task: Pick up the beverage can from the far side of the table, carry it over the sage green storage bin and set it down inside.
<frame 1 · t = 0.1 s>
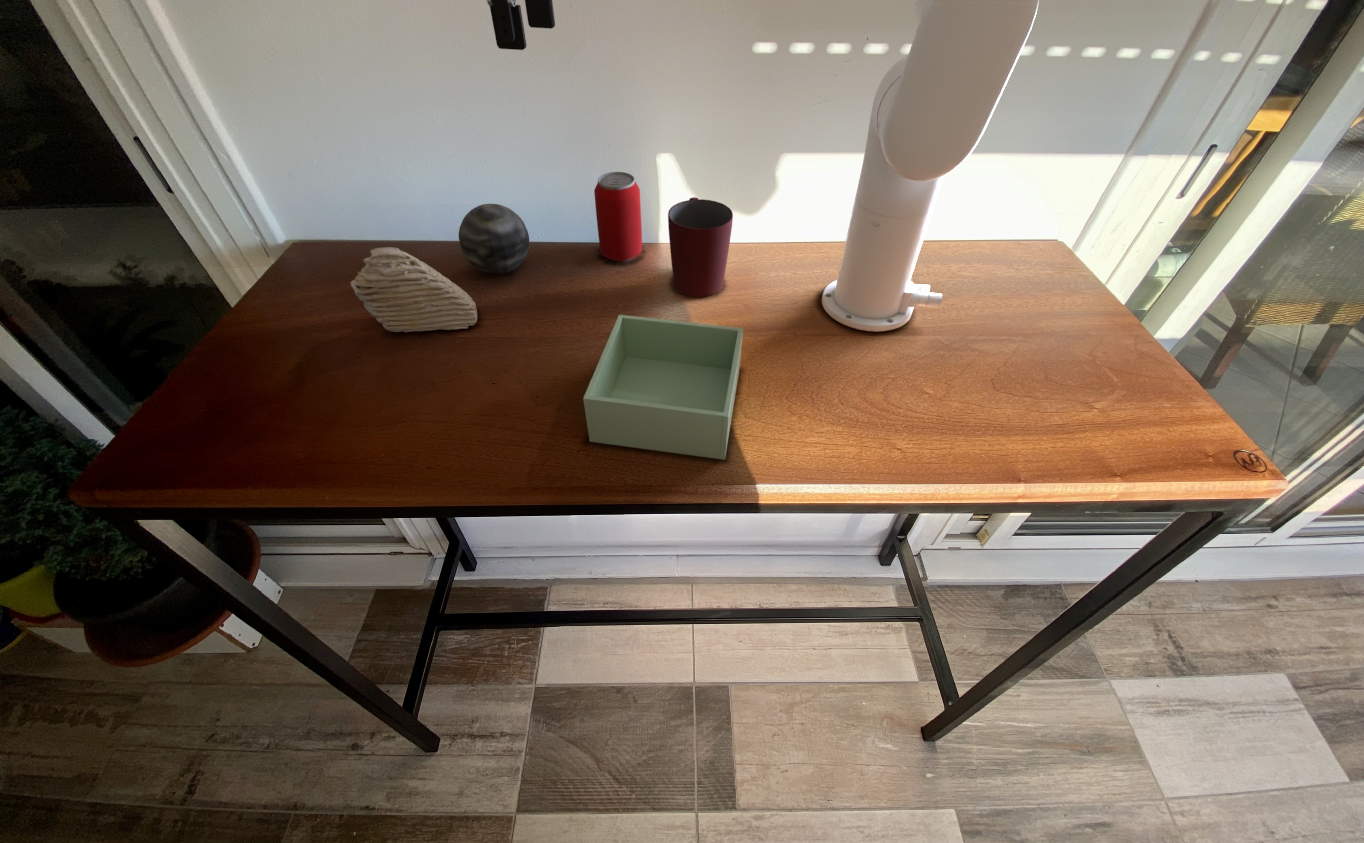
hand: (528, 37, 68), 31 cm above the table, tool pointing down, fingers open, 9 cm apart
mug: (696, 279, 90), on the table
fossil tooth: (425, 323, 82), on the table
decorative stone: (501, 270, 92), on the table
sage green storage bin: (669, 403, 71), on the table
beverage can: (621, 254, 95), on the table
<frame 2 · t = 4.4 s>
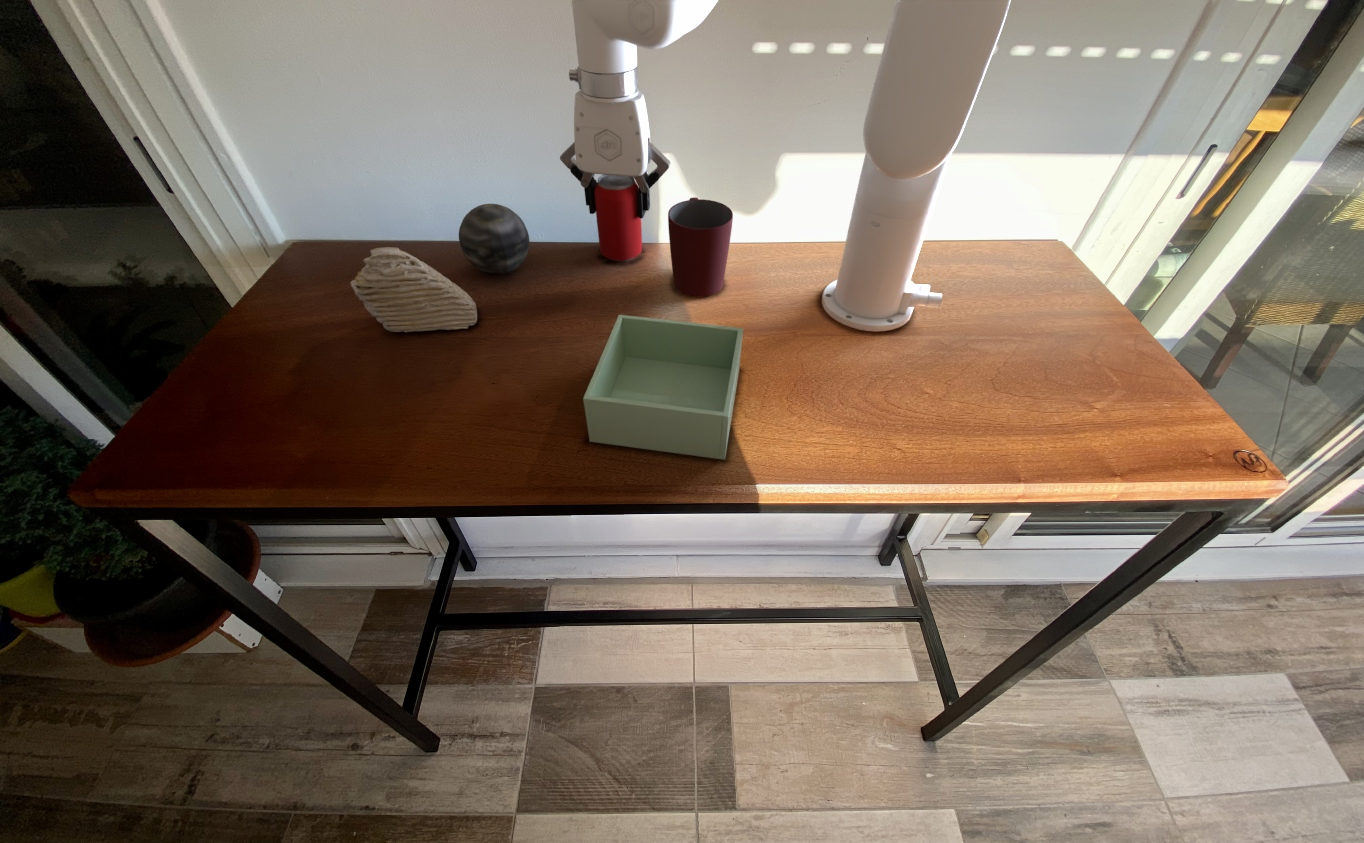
hand: (618, 211, 90), 7 cm above the table, tool pointing down, fingers closed on beverage can, 6 cm apart
beverage can: (621, 254, 95), on the table, touching gripper
everything else where it was.
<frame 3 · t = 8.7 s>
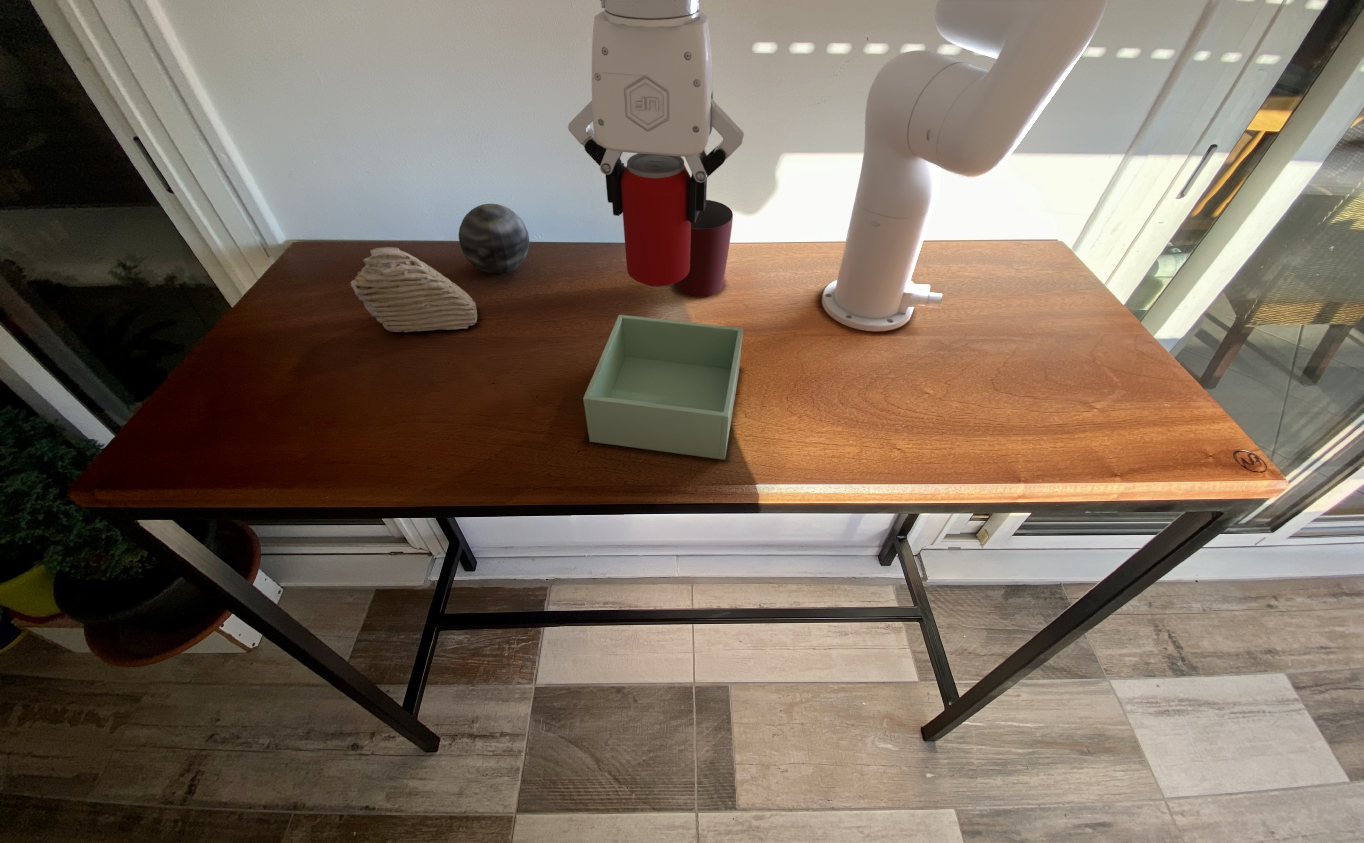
hand: (657, 211, 59), 22 cm above the table, tool pointing down, fingers closed on beverage can, 6 cm apart
beverage can: (658, 276, 64), point 14 cm above the table, touching gripper
everything else where it was.
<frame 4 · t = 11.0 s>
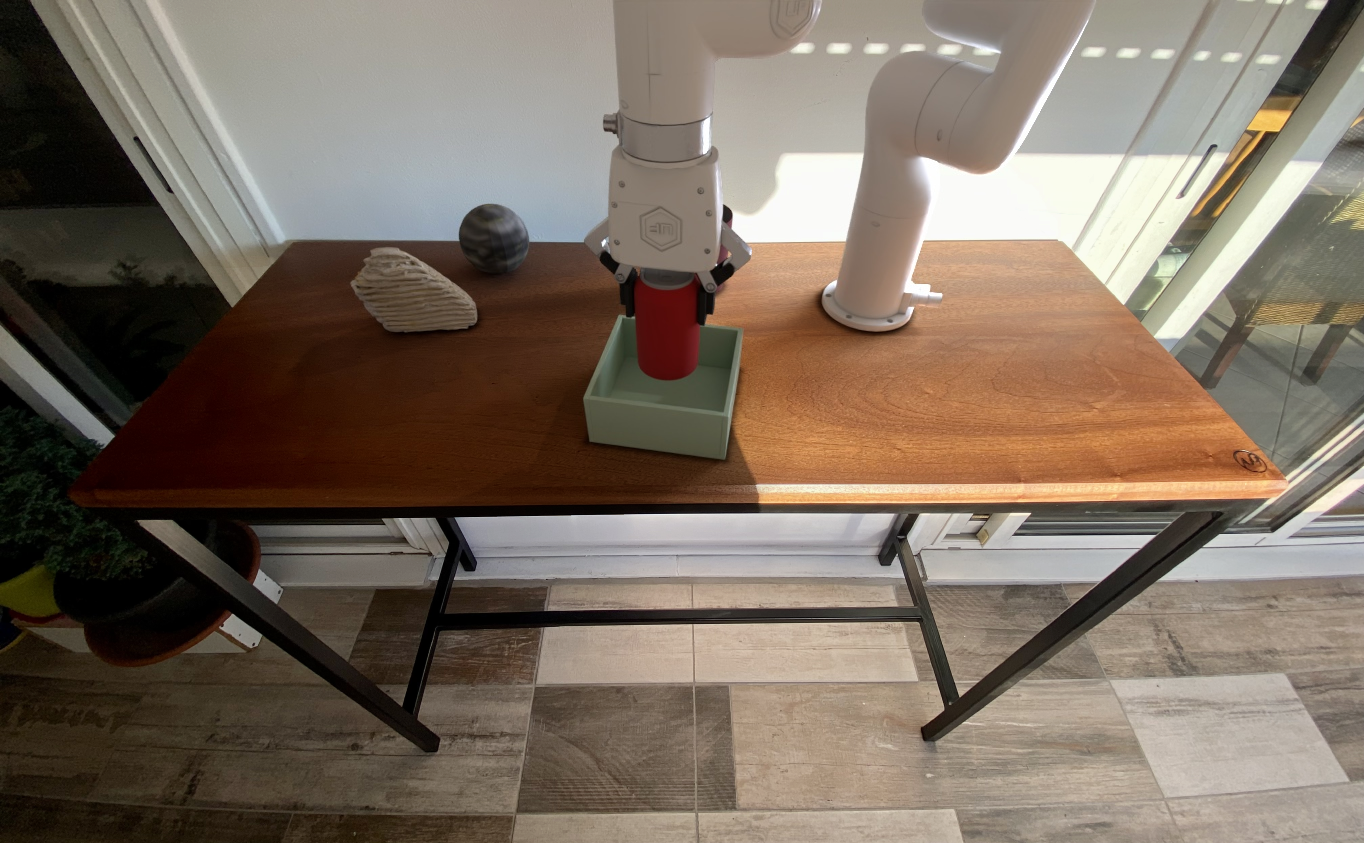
hand: (667, 313, 62), 13 cm above the table, tool pointing down, fingers closed on beverage can, 6 cm apart
beverage can: (668, 367, 67), point 6 cm above the table, touching gripper
everything else where it was.
when the fingers open (8 cm above the table, at t = 12.9 s): beverage can stays where it is, resting on sage green storage bin.
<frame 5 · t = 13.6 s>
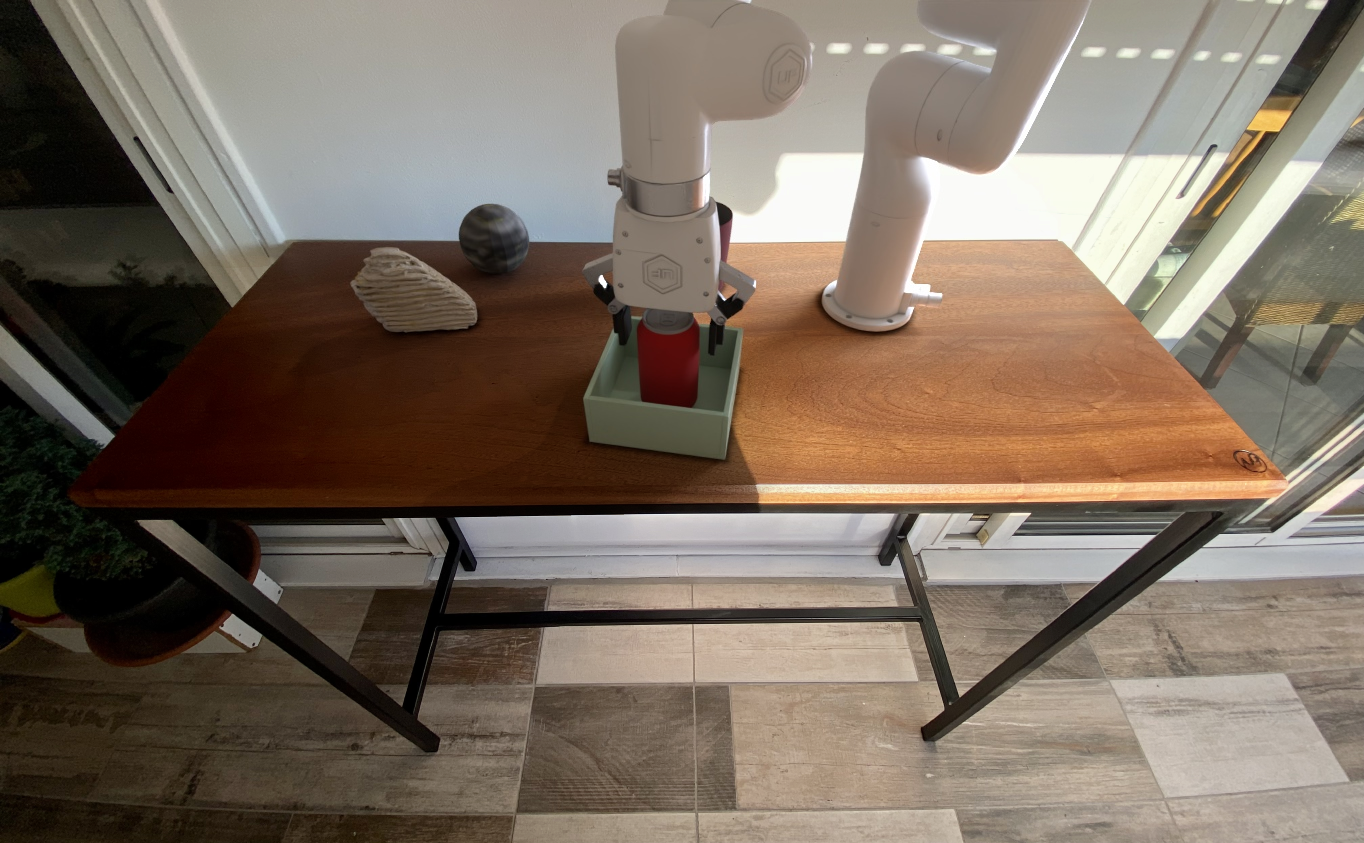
hand: (669, 342, 64), 9 cm above the table, tool pointing down, fingers open, 9 cm apart
beverage can: (669, 401, 70), resting on sage green storage bin
everything else where it was.
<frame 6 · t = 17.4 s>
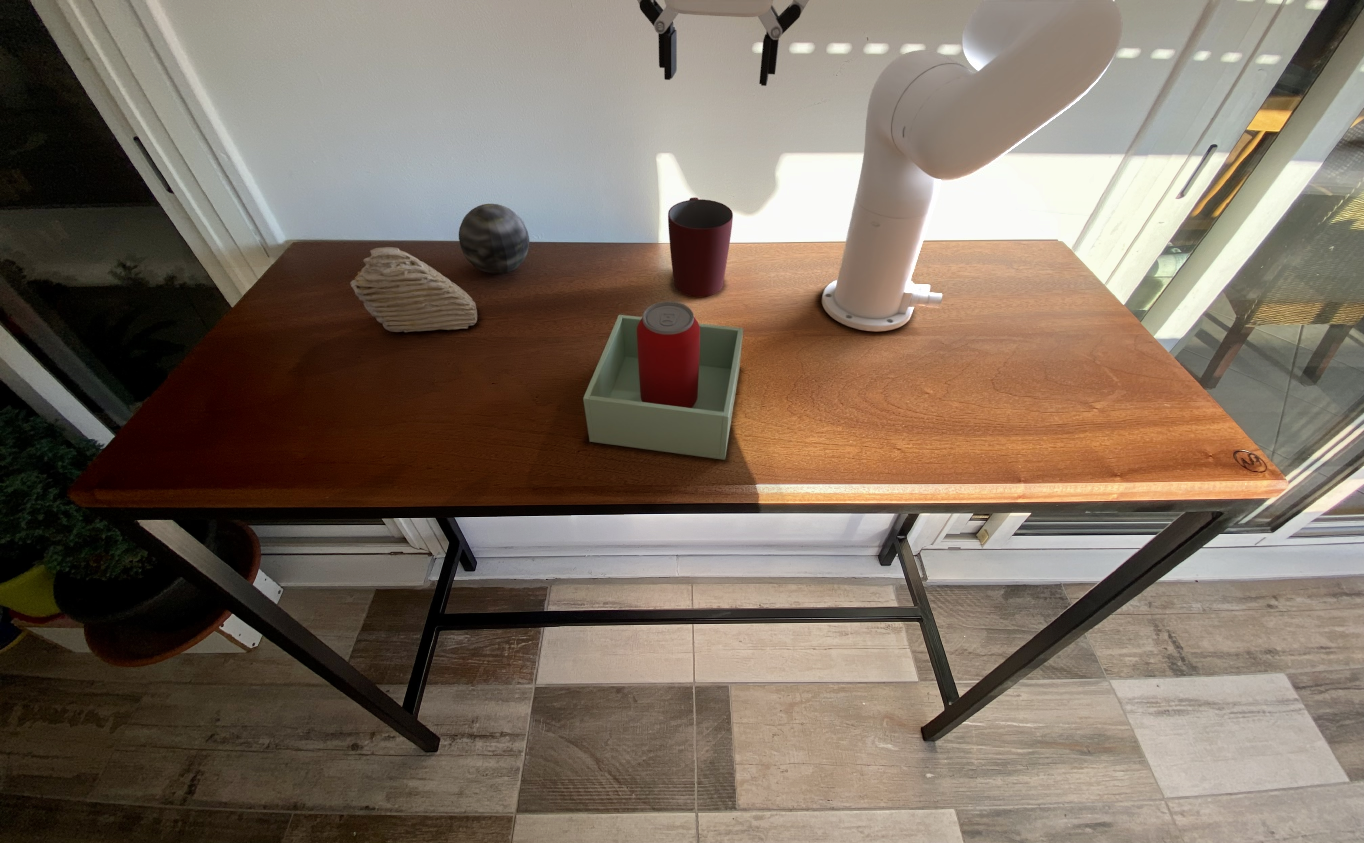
hand: (716, 79, 61), 30 cm above the table, tool pointing down, fingers open, 9 cm apart
nothing on the table moved.
at the end: beverage can inside the target area in the sage green storage bin (0.0 cm from its centre), point 0.4 cm above the sage green storage bin's base; beverage can tilted 0°; the gripper is holding nothing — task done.
